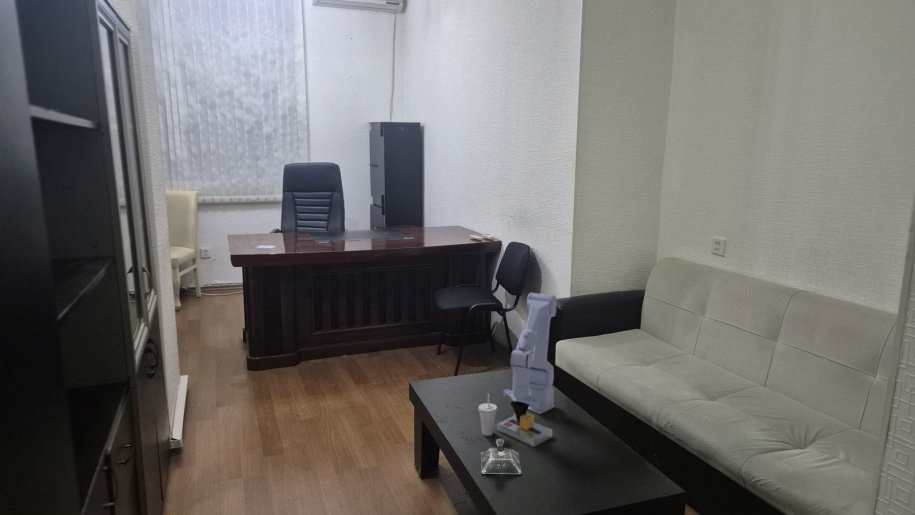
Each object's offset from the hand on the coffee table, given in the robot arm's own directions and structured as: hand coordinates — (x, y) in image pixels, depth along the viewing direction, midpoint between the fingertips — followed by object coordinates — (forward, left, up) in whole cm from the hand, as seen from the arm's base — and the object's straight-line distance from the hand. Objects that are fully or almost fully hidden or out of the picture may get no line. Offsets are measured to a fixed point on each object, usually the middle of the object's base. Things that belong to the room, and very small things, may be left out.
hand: (520, 420), depth 205 cm
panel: (0, +2, -4) cm, 4 cm away
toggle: (0, +3, -1) cm, 3 cm away
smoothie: (+9, -7, -4) cm, 12 cm away
